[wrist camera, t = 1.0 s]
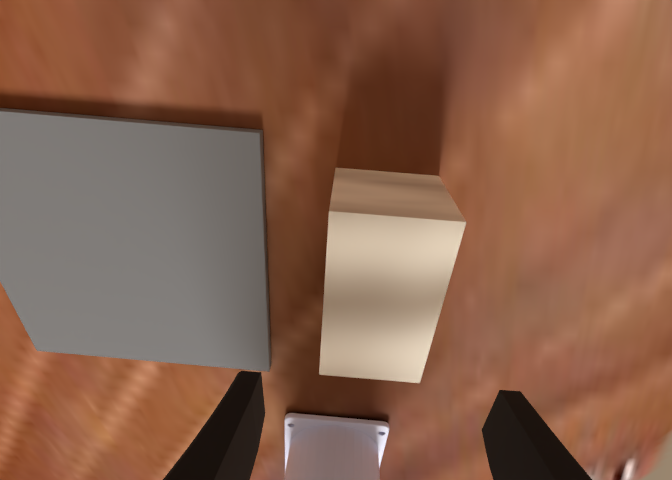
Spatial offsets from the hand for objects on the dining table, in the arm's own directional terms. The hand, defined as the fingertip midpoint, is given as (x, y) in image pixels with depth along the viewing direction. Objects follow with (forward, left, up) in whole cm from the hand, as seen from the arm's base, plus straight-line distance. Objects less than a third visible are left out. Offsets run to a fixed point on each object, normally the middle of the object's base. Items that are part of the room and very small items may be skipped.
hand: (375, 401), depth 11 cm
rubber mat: (-2, +14, -9) cm, 17 cm away
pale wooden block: (0, 0, -10) cm, 10 cm away
